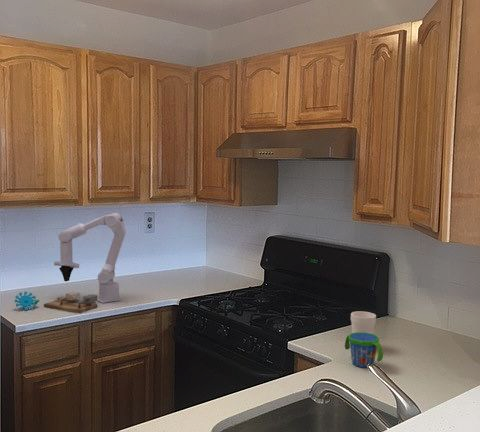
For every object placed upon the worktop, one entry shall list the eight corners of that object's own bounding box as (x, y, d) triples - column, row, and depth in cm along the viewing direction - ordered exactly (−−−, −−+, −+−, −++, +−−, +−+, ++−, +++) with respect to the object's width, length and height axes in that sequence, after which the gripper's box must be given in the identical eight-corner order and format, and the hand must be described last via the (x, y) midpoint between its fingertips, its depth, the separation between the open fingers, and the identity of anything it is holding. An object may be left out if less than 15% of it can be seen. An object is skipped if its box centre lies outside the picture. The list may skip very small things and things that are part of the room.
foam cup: (358, 341, 216) (360, 310, 214) (379, 347, 209) (380, 315, 208) (344, 346, 209) (346, 314, 208) (365, 353, 202) (366, 319, 201)
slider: (73, 298, 264) (73, 291, 263) (79, 299, 262) (79, 292, 262) (56, 303, 254) (56, 296, 253) (63, 305, 252) (63, 297, 252)
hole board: (61, 301, 266) (61, 297, 266) (97, 307, 257) (97, 303, 257) (43, 307, 255) (43, 303, 255) (80, 313, 246) (80, 309, 246)
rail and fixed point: (63, 298, 266) (63, 290, 266) (97, 303, 258) (97, 295, 257) (46, 303, 256) (46, 295, 256) (81, 309, 248) (81, 300, 247)
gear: (15, 308, 245) (14, 290, 251) (12, 315, 249) (12, 297, 255) (40, 309, 251) (39, 291, 257) (37, 315, 255) (37, 297, 261)
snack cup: (336, 359, 195) (337, 332, 194) (358, 354, 201) (359, 328, 200) (367, 374, 182) (368, 345, 181) (389, 369, 187) (391, 340, 186)
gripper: (49, 253, 267) (49, 280, 269) (72, 256, 261) (72, 284, 263) (59, 251, 274) (59, 278, 275) (82, 254, 268) (82, 281, 269)
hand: (66, 280), depth 269 cm, fingers closed
